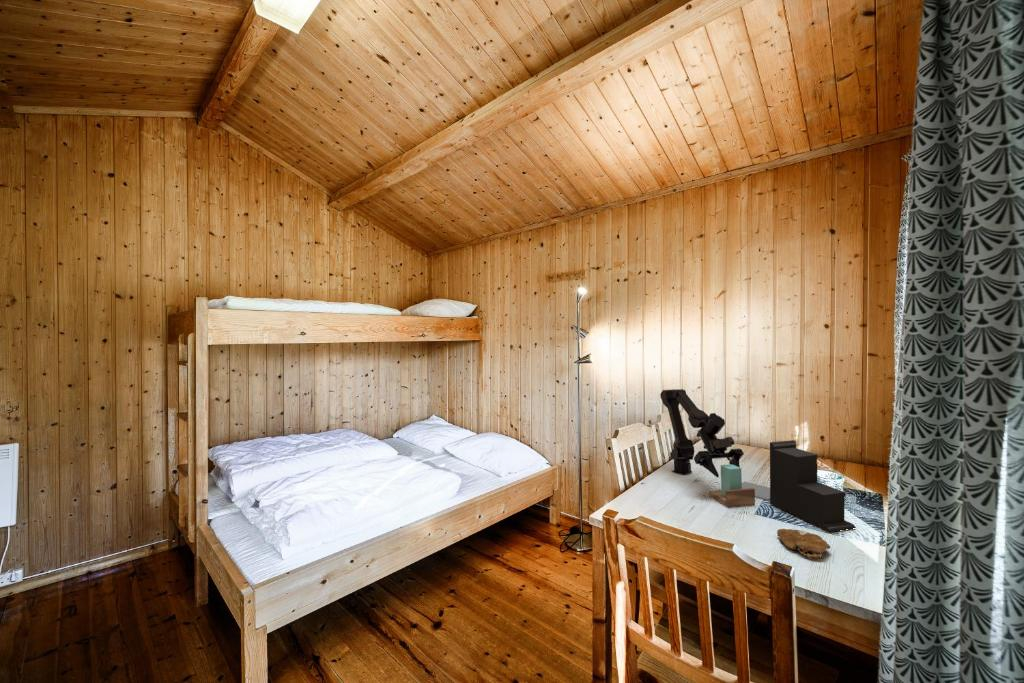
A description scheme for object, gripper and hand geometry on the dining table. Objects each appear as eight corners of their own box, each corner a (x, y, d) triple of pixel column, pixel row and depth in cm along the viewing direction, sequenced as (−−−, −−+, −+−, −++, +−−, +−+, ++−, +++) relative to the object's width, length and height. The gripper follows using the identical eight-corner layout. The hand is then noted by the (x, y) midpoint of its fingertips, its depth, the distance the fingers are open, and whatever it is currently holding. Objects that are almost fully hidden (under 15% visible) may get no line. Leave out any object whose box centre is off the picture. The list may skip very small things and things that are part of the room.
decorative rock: (843, 564, 114) (809, 540, 129) (844, 549, 114) (809, 526, 129) (800, 561, 115) (770, 537, 129) (800, 546, 115) (771, 524, 130)
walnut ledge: (709, 496, 162) (709, 481, 162) (734, 494, 163) (734, 479, 163) (728, 507, 151) (727, 491, 151) (755, 505, 153) (754, 489, 153)
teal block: (721, 493, 159) (720, 465, 159) (732, 492, 160) (732, 464, 160) (729, 498, 154) (729, 469, 154) (741, 497, 155) (741, 468, 155)
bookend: (857, 529, 132) (855, 456, 132) (829, 533, 130) (827, 459, 130) (793, 501, 155) (792, 439, 155) (769, 504, 153) (768, 441, 153)
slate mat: (729, 490, 167) (729, 489, 167) (744, 482, 176) (744, 481, 176) (768, 500, 156) (767, 499, 156) (781, 491, 165) (781, 490, 165)
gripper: (697, 431, 162) (715, 467, 151) (740, 428, 165) (761, 463, 154) (686, 446, 170) (703, 481, 159) (727, 443, 173) (747, 478, 162)
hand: (729, 475), depth 158 cm, fingers open, 9 cm apart
